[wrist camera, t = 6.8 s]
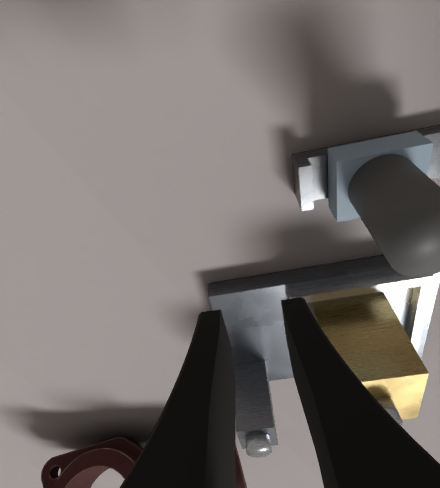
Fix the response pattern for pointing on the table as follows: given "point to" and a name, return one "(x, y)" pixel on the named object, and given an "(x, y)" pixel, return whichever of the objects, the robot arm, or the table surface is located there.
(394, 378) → the housing
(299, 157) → the rail
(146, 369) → the table surface
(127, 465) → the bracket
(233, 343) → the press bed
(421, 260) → the lever
